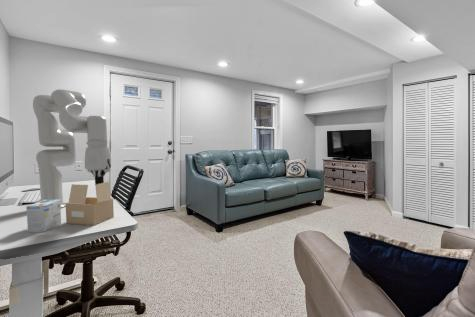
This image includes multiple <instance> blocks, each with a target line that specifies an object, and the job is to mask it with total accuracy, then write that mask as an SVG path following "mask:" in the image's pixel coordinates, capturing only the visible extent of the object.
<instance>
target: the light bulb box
mask: <svg viewBox="0 0 475 317" xmlns="http://www.w3.org/2000/svg"><path fill="white" fill-rule="evenodd" d="M25 208H26V220H27V221H26V222H27V223H26V224H27V232H28V233H44V232H45V233H46V232H47V231H48V230H51V229H52V228H54V227H57V226H58V225H60V224H62V211H61V210H62V208H61V207H60V199H56V200H43V201H40V202H37V201H36V202H35V203H32V204H29V205H26V206H25Z"/></svg>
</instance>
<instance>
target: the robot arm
mask: <svg viewBox="0 0 475 317" xmlns="http://www.w3.org/2000/svg"><path fill="white" fill-rule="evenodd" d="M86 105H87V99H86V96H85V95H84V94H83V93H81V92H78V91H75V90H67V89H60V88H59V89H55V90H54V91H53V92H51V95H49V94H38V95H36V96H34V98H33V100H32V109H33V111H34V114H35V117H36V120H37V134H38V142H39V144H40V146H43V147H45V148H48V149H42V150H40V151H38V152H37V153H36V156H35V159H36V164H37V168H38V174H39V188H40V189H39V190H40V198H39V200H37V201H36V203H37V202H40V201H43V200H56V199H60V207H61V209H62V208H66V203H67V202H64V196H63V179H62V178H63V176H62V172H61V171H60V170H59V169H58V168H59V167H68V166H69V167H70V166H73V165H74V164H75V163H76V156H77V155H76V139H75V138H76V137H75V135H74V133H75V134H87V135H86V136H87V141H86V145H87V147H86V148H85V153H84V168H85V170H86V171H87V172H88V173H91V174H92V176H93V177H94V183H95V184H94V186H95V185H96V184H100V183H105V180H104V177H105V175H106V173H110V172H111V167H112V159H111V153H110V148H109V146H108V130H107V129H108V127H107V118H106V117H105V116H103V115H102V116H101V115H89V116H84V115H83V116H82V115H81V114H82V112H83V110H84V108H85V107H86ZM53 113H55V114H56V113H57V114H58V119H59V122H58V119H57V117H56V116H55V115H54V114H53ZM59 124H60V125H61V126H62V127H63V128H64V129H59ZM58 147H59V148H60V147H61V148H60V149H57V148H58ZM49 148H53V149H49ZM55 148H56V149H55ZM57 167H58V168H57Z"/></svg>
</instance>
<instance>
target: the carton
mask: <svg viewBox="0 0 475 317" xmlns="http://www.w3.org/2000/svg"><path fill="white" fill-rule="evenodd" d="M65 203H66V206H65V218H66V220H65V222H66V224H68V225H70V224H71V225H81V226H96V225H99V224H101V223H104V222H106V221H108V220H111V219H113V218H114V217H115V215H114V212H115V211H114V198H113V197H111V199H109V200H106V201H102V202H99V203H97V197H93V196H92V197H90V196H89V197H88V196H86V201H85V204H79V203H69V201H68V202H65Z"/></svg>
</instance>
